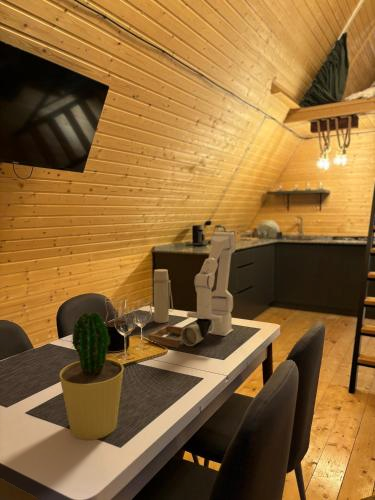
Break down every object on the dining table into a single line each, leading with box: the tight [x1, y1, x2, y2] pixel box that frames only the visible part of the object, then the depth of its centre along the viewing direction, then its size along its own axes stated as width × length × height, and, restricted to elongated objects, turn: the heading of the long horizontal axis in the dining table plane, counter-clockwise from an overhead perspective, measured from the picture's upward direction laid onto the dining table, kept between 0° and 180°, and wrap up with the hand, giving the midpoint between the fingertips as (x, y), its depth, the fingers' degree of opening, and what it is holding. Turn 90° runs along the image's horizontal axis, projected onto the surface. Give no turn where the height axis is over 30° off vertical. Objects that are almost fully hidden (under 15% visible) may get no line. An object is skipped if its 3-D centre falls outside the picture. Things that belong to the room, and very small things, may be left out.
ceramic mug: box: [177, 323, 205, 347], centre depth 156 cm, size 11×8×8 cm
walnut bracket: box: [147, 324, 185, 349], centre depth 161 cm, size 15×14×3 cm
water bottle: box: [153, 268, 174, 324], centre depth 184 cm, size 9×8×25 cm
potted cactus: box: [59, 311, 125, 441], centre depth 95 cm, size 15×15×30 cm
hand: (204, 336), depth 153 cm, fingers closed
